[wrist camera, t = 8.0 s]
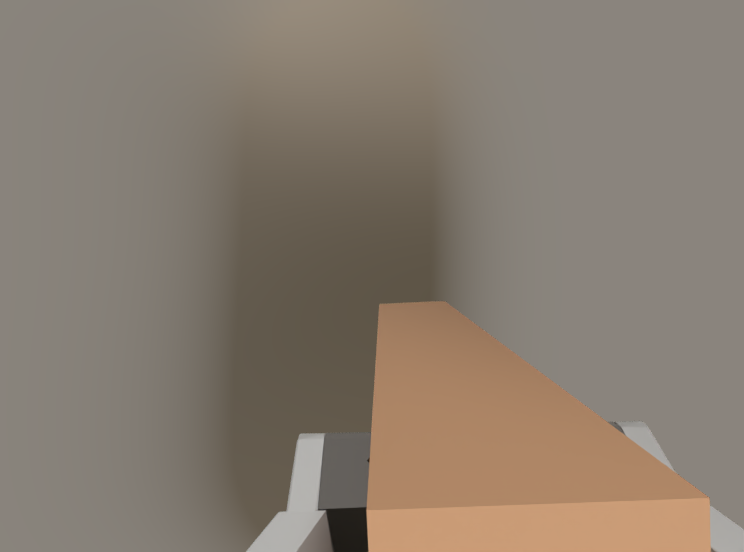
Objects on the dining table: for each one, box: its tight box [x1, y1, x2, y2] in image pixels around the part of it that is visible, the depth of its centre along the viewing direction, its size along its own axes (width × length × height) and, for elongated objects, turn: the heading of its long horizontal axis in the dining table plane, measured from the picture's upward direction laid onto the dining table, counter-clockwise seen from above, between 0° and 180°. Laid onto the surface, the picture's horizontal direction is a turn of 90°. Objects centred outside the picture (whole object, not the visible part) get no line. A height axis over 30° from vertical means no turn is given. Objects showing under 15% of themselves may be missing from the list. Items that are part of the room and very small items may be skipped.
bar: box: [366, 301, 711, 552], centre depth 16 cm, size 4×22×4 cm, turn 179°
